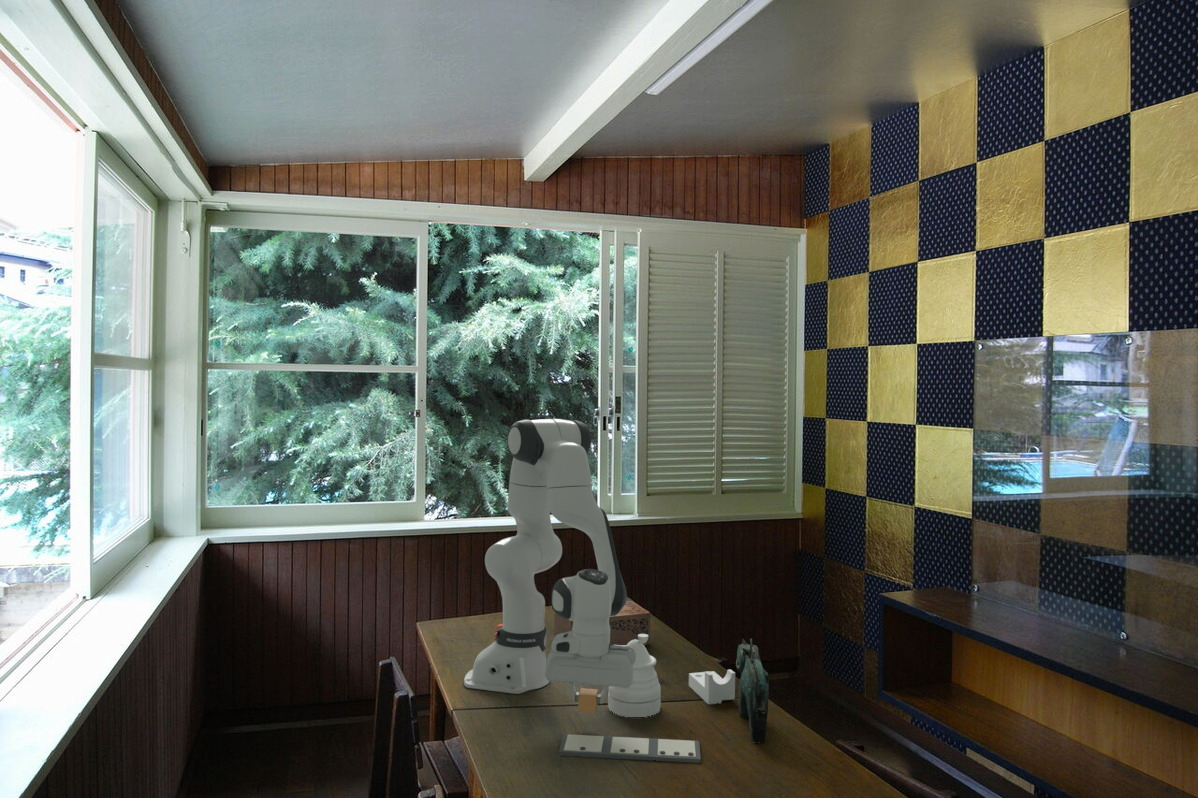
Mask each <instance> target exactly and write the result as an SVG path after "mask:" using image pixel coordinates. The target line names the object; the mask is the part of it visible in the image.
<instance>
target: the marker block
mask: <svg viewBox="0 0 1198 798" xmlns="http://www.w3.org/2000/svg"><path fill="white" fill-rule="evenodd" d="M578 692H579V696H578V702H577V713H585V714H596V712H597V709H598V704H596V701H597V700H596V697H597V694H599V689H597V688H585V687H580V690H579V691H578Z"/></svg>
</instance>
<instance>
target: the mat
mask: <svg viewBox="0 0 1198 798" xmlns="http://www.w3.org/2000/svg"><path fill="white" fill-rule="evenodd" d="M561 739H562V740H561V742H560V746H559V749H558V756H559V757H560V756H562V757H577V756H579V757H580V758H599V759H614V760H615V759H617V760H618V759H619V760H620V759H621V760H635V761H636V760H640V761H653V760H656V761H657V762H658V761H659V762H674V763H675V762H676V763H678V762H679V763H692V764H693V763H695V764H696V763H697V764H701V763H702V762H701V761H702V760H701V750H700V749H701V748H700V740H691V739H690V740H689V739H677V738H676V739H674V738H671V739H670V738H655V737H654V738H652V737H635V736H634V737H631V736H614V735H613V736H612V735H597V734H596V735H592V734H577V733H576V734H574V733H573V734H572V733H563V735H562V738H561Z"/></svg>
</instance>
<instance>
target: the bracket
mask: <svg viewBox="0 0 1198 798" xmlns="http://www.w3.org/2000/svg"><path fill="white" fill-rule="evenodd" d="M688 687H690V689H692V690H693V692H695V693H696V694H697V695H698V696H699V697H700V698H701V699H702V700H703V701H704V702H705V703H706V704H707V705H716V704H717V703H718V704H722V701H729V700H735V699H736V696H735V695H736V672H735V671H733V670H732V669H727V670H726V674H725V675H724V677H723V678H722V677H721V676H720V675H719V674H718V673H717V672H716V671H714V670H711V671H709V670H708V671H701V672H691V673H690V672H689V673H688ZM718 704H717V705H718Z"/></svg>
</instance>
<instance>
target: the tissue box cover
mask: <svg viewBox="0 0 1198 798" xmlns="http://www.w3.org/2000/svg"><path fill="white" fill-rule="evenodd" d="M553 623H554V628H553V629H554V630H553V631H554V632H553V633H554V634H553V635H554V637H555V636H556V635H558V634H561V633H565V632H570V631H572V627H573V621H572V620H571V619H564V618H562V617H560V616H559V615H558V614H557V613H556V612H555V611H554V622H553ZM609 625H610V644H615V645H621V646H623V645H627V644H628V643H629V642H630V641H632V640H634V639H636V640H639V639H638V635H639V634H647V635H648V640H647V642H646V643H642V644H649V643H650V644H651V612H650V611H648V610H647V609H645V608H643V607H642V606H640V605H639V604H637V603H635V602H634V601H632V600H626V603H625V605H624V607H623V608H622V609H621V611H620V612H619V613H618V614H617V615H615V616H610V617H609ZM554 637H553V638H554Z"/></svg>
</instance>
